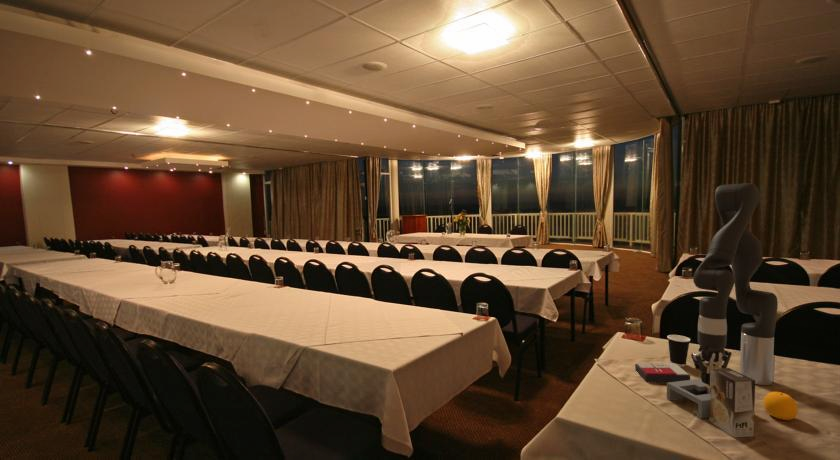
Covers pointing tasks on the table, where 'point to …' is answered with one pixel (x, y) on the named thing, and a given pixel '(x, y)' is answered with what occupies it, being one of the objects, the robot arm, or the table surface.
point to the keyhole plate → (691, 394)
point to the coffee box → (732, 402)
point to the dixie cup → (678, 349)
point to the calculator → (661, 372)
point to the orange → (780, 406)
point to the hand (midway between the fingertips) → (710, 382)
